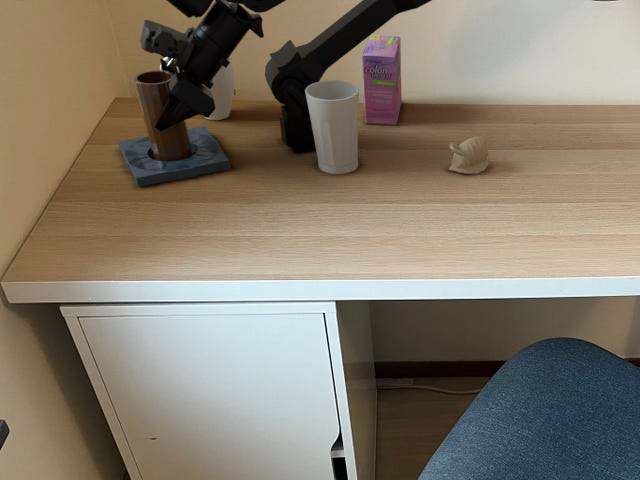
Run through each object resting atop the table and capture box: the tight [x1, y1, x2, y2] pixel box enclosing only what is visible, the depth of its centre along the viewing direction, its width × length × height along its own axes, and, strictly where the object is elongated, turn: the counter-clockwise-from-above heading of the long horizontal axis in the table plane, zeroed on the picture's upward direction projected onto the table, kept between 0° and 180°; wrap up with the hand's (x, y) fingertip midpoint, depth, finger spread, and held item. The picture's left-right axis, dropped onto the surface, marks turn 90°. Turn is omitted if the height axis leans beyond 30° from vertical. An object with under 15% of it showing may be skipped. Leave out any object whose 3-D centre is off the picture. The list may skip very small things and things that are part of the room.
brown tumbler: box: [133, 69, 194, 162], centre depth 120 cm, size 6×6×13 cm
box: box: [361, 34, 403, 126], centre depth 137 cm, size 10×6×12 cm, turn 179°
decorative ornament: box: [447, 136, 490, 175], centre depth 123 cm, size 4×8×5 cm, turn 130°
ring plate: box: [117, 126, 231, 188], centre depth 124 cm, size 14×14×2 cm
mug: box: [159, 54, 235, 121], centre depth 133 cm, size 12×8×11 cm
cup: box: [305, 79, 360, 175], centre depth 121 cm, size 8×8×12 cm
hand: (155, 120), depth 119 cm, fingers open, 6 cm apart
